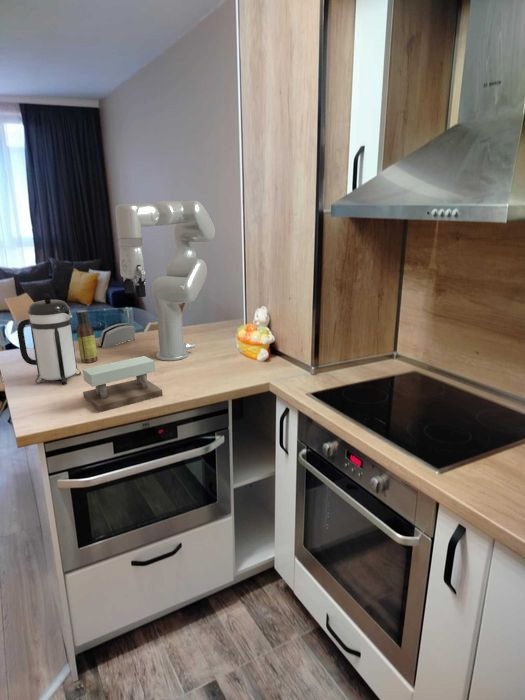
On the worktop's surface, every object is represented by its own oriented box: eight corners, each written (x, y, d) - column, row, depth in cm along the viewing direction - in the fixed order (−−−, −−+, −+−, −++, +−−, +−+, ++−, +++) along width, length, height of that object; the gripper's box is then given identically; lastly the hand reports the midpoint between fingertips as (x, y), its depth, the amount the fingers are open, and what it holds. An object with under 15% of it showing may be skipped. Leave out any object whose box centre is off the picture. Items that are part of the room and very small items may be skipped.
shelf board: (92, 386, 135) (91, 375, 134) (83, 380, 140) (82, 369, 139) (155, 371, 147) (154, 360, 146) (145, 366, 152) (144, 355, 151)
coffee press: (76, 368, 173) (65, 287, 164) (86, 380, 160) (75, 294, 151) (24, 377, 164) (10, 292, 155) (30, 391, 151) (15, 300, 142)
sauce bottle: (101, 358, 183) (95, 309, 178) (92, 363, 177) (86, 312, 172) (85, 358, 184) (79, 308, 179) (77, 363, 178) (70, 312, 173)
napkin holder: (127, 338, 213) (130, 318, 208) (134, 343, 211) (137, 323, 206) (96, 346, 200) (98, 326, 195) (103, 352, 198) (106, 331, 193)
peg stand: (144, 383, 157) (142, 363, 155) (162, 395, 146) (160, 374, 144) (83, 397, 145) (81, 376, 143) (99, 412, 135) (96, 389, 133)
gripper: (109, 242, 157) (114, 293, 162) (129, 245, 144) (134, 300, 149) (131, 241, 162) (135, 290, 167) (152, 244, 149) (156, 297, 154)
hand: (135, 295), depth 158 cm, fingers open, 9 cm apart
